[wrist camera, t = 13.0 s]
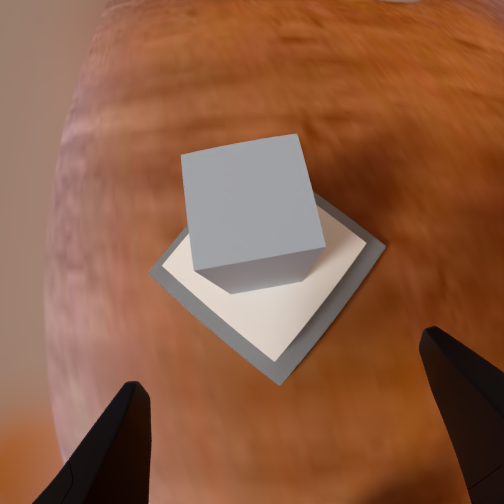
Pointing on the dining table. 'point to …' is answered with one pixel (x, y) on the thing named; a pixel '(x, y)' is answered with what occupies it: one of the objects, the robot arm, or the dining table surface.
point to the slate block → (251, 214)
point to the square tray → (312, 328)
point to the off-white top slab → (274, 291)
